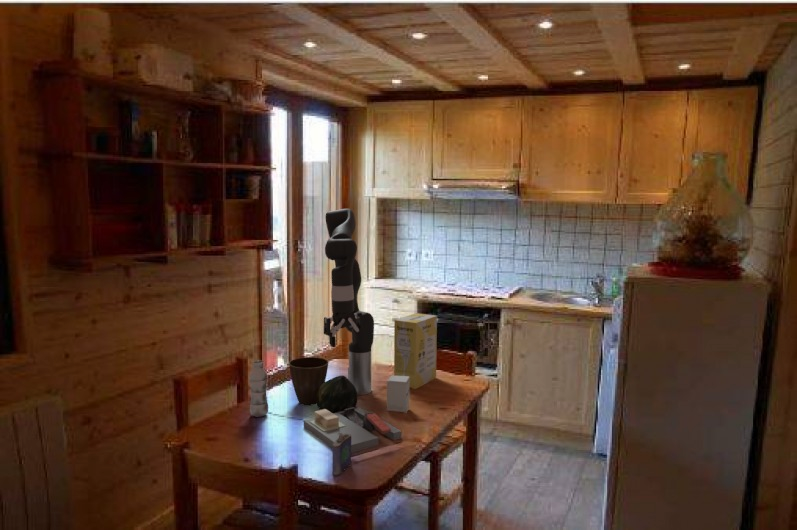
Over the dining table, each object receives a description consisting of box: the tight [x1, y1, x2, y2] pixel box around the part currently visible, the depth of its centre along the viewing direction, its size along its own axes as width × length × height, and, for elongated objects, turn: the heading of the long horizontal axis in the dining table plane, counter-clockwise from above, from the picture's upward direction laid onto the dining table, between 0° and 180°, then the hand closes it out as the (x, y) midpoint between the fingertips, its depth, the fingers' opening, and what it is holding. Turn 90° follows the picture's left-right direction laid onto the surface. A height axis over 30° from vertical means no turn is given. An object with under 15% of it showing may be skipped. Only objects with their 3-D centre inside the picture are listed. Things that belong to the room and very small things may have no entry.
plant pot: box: [288, 356, 329, 407], centre depth 217 cm, size 15×15×16 cm
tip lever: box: [344, 407, 391, 435], centre depth 188 cm, size 23×6×8 cm, turn 35°
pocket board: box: [303, 406, 403, 458], centre depth 186 cm, size 26×22×4 cm
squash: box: [315, 375, 358, 413], centre depth 207 cm, size 14×15×15 cm
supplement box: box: [386, 374, 410, 414], centre depth 209 cm, size 7×7×13 cm
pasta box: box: [393, 312, 438, 390], centre depth 244 cm, size 18×10×28 cm, turn 148°
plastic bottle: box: [248, 359, 269, 418], centre depth 203 cm, size 6×7×20 cm
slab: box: [313, 409, 339, 429], centre depth 187 cm, size 9×4×3 cm, turn 36°
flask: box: [331, 433, 352, 477], centre depth 163 cm, size 9×3×11 cm, turn 158°
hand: (344, 344), depth 193 cm, fingers open, 8 cm apart
